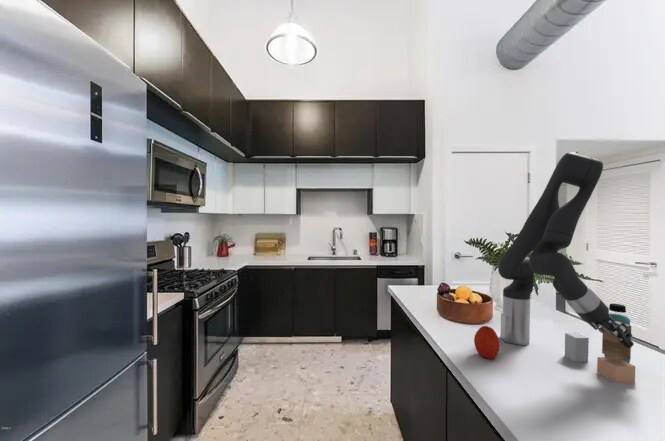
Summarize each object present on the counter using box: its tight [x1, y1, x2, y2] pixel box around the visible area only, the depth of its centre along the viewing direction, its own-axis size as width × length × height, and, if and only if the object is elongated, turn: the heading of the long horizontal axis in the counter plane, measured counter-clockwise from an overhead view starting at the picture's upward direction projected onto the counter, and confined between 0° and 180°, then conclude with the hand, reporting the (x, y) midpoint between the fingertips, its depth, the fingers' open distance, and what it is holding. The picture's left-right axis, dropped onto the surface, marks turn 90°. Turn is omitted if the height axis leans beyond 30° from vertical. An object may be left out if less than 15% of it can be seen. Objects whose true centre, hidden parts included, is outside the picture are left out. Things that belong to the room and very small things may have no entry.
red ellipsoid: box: [473, 325, 501, 360], centre depth 107 cm, size 8×8×11 cm
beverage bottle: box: [603, 303, 631, 364], centre depth 102 cm, size 6×7×20 cm
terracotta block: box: [596, 356, 636, 384], centre depth 94 cm, size 6×6×5 cm
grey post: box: [564, 332, 590, 363], centre depth 107 cm, size 4×4×8 cm
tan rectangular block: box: [601, 321, 632, 361], centre depth 94 cm, size 4×4×10 cm
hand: (622, 342), depth 94 cm, fingers closed on tan rectangular block, 4 cm apart
